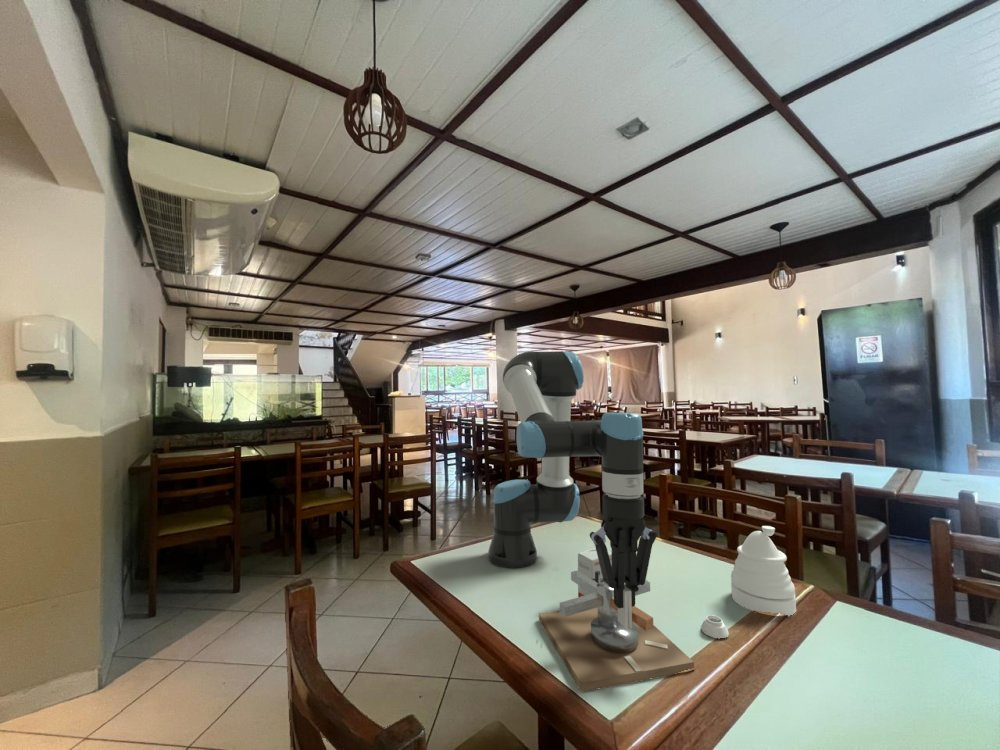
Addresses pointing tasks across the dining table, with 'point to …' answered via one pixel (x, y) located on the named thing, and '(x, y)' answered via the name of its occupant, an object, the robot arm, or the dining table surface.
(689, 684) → the dining table surface
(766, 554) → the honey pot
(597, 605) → the capstan
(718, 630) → the white round hollow piece
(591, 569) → the ink box
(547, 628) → the board
